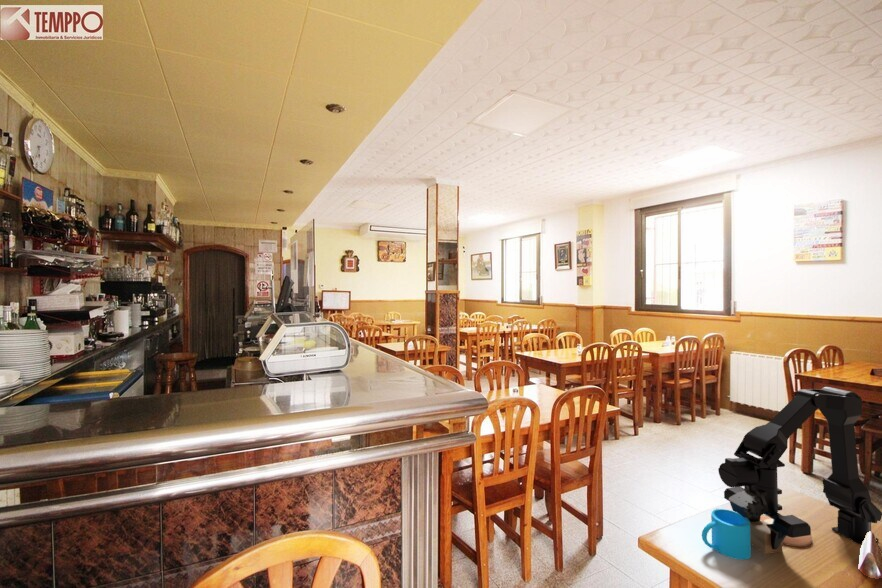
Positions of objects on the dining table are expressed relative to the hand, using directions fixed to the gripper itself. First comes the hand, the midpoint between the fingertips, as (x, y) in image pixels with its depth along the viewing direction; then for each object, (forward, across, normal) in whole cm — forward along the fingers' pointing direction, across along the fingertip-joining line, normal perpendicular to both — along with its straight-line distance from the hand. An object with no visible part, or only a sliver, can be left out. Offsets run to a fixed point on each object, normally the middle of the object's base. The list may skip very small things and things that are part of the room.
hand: (764, 542), depth 102 cm
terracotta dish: (+1, -4, +10) cm, 11 cm away
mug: (+1, -1, -11) cm, 11 cm away
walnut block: (+1, 0, 0) cm, 1 cm away
